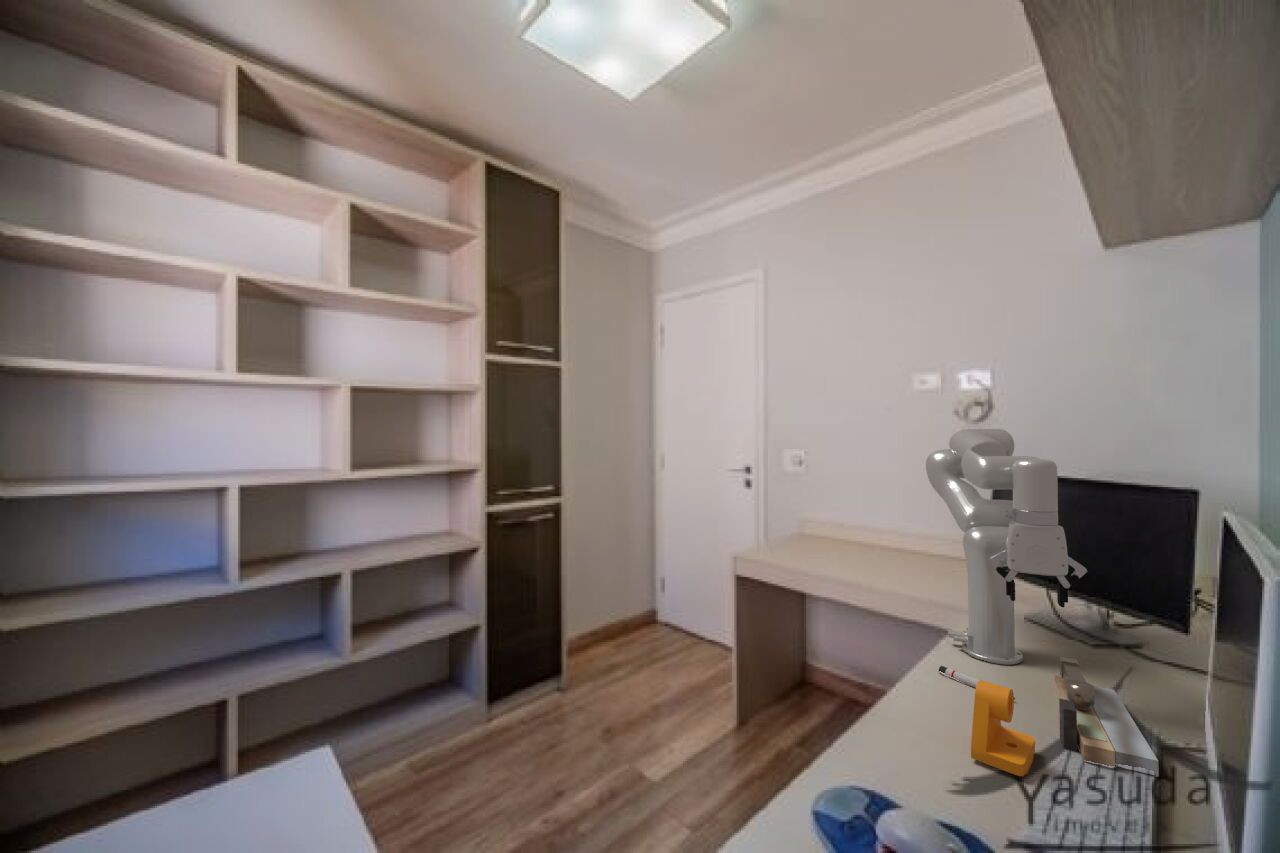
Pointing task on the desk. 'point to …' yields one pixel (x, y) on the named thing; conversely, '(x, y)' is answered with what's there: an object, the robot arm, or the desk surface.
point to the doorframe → (1103, 730)
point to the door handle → (1076, 683)
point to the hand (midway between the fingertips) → (1036, 601)
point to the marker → (960, 676)
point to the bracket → (999, 731)
